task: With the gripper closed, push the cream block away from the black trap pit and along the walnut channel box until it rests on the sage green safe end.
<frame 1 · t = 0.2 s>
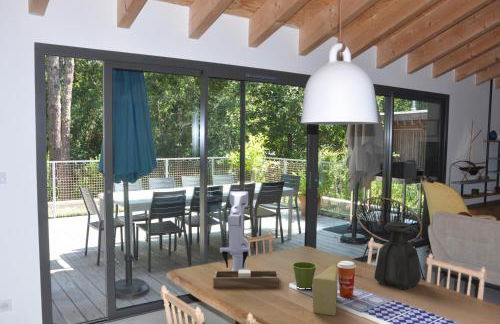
hand: (235, 267, 205), 10 cm above the table, tool pointing down, fingers open, 7 cm apart
cream block: (244, 279, 212), point 2 cm above the table, touching trap box
plant pot: (304, 288, 205), on the table
cheese: (329, 305, 183), on the table
trap box: (246, 283, 212), on the table
coffee cup: (346, 295, 195), on the table
black faceted vase: (397, 284, 211), on the table
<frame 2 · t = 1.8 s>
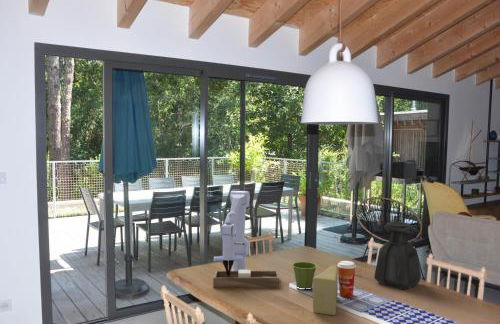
hand: (228, 275, 212), 4 cm above the table, tool pointing down, fingers closed
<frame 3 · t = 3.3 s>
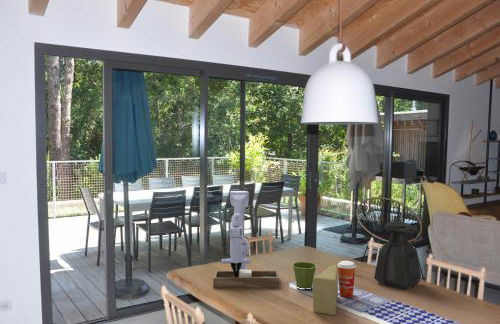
hand: (236, 277, 212), 3 cm above the table, tool pointing down, fingers closed
cream block: (245, 279, 212), point 2 cm above the table, touching gripper
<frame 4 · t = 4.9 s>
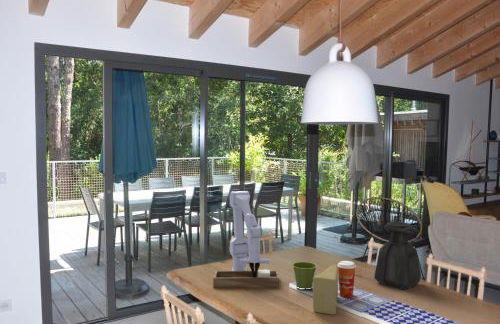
hand: (254, 277, 212), 3 cm above the table, tool pointing down, fingers closed
cream block: (263, 279, 212), point 2 cm above the table, touching gripper
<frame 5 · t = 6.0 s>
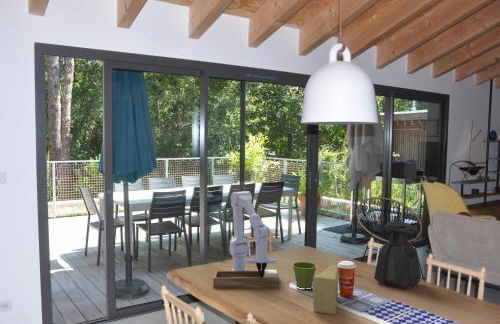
hand: (261, 277, 212), 3 cm above the table, tool pointing down, fingers closed
cream block: (270, 279, 212), point 2 cm above the table, touching gripper, trap box
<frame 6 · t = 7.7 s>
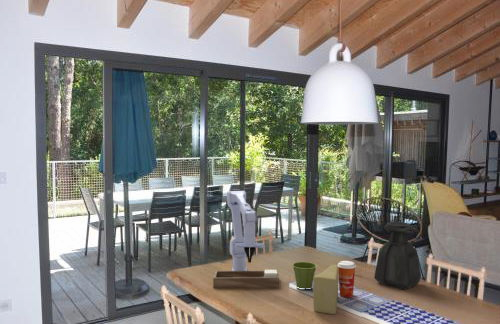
hand: (249, 262, 213), 10 cm above the table, tool pointing down, fingers closed
cream block: (270, 279, 212), point 2 cm above the table, touching trap box
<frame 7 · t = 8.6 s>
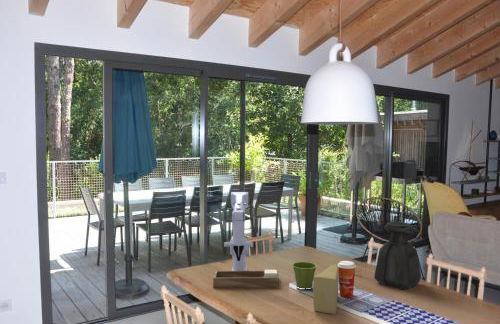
hand: (238, 260, 215), 10 cm above the table, tool pointing down, fingers closed
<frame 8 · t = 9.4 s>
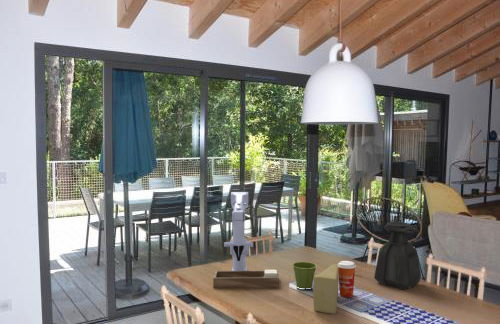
hand: (238, 260, 215), 10 cm above the table, tool pointing down, fingers closed
at the end: cream block inside the target area (0.5 cm from its centre), point 2.0 cm above the table; cream block tilted 0° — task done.
